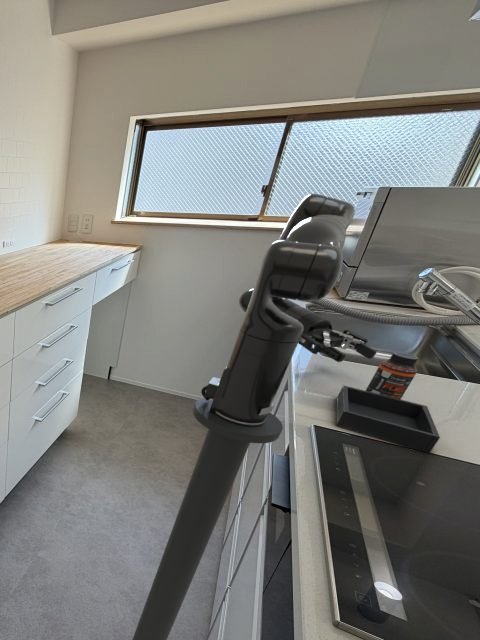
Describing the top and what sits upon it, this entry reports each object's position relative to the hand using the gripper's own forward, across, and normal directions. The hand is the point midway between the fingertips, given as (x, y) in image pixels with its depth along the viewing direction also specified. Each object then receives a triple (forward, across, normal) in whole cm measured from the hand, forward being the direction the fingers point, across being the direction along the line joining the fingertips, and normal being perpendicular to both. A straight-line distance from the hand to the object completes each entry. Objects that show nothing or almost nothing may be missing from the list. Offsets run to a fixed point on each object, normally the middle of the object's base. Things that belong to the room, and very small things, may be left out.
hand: (358, 357), depth 98 cm
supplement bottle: (+10, -1, +6) cm, 11 cm away
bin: (+18, -12, +3) cm, 22 cm away
